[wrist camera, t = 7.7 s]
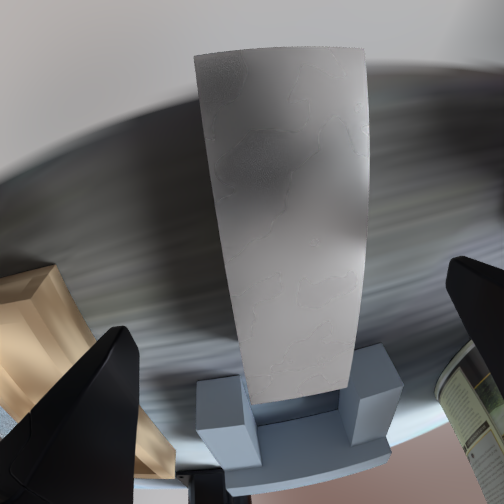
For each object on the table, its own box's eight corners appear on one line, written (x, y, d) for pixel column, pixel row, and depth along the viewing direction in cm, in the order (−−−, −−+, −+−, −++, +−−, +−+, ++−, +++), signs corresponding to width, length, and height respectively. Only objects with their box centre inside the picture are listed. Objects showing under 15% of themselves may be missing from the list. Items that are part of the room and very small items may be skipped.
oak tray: (175, 450, 20) (174, 478, 18) (81, 448, 20) (76, 472, 18) (55, 264, 12) (30, 299, 10) (-46, 290, 12) (-68, 316, 10)
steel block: (323, 325, 15) (347, 387, 12) (243, 338, 15) (251, 404, 12) (317, 60, 10) (364, 48, 6) (203, 69, 9) (193, 56, 6)
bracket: (367, 413, 20) (386, 463, 16) (228, 443, 20) (232, 496, 16) (381, 342, 16) (413, 404, 12) (196, 381, 16) (195, 452, 12)
